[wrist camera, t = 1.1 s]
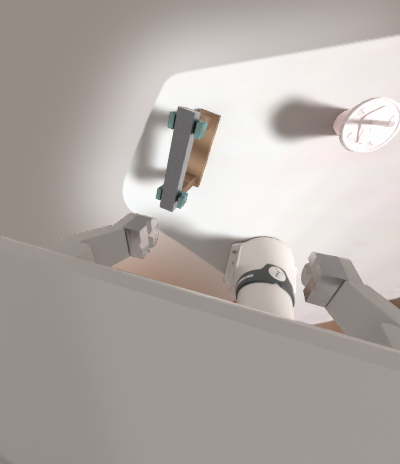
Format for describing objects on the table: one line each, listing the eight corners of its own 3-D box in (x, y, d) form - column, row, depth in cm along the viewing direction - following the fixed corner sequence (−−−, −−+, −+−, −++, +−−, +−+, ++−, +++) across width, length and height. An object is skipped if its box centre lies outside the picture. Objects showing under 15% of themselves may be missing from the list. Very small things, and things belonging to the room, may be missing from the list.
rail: (177, 206, 37) (172, 212, 35) (165, 201, 37) (159, 206, 35) (200, 112, 27) (195, 113, 25) (184, 106, 27) (178, 106, 25)
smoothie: (380, 106, 30) (447, 105, 19) (351, 148, 34) (393, 167, 23) (339, 94, 31) (381, 86, 20) (316, 136, 35) (339, 150, 23)
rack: (201, 186, 46) (179, 211, 35) (182, 178, 46) (155, 200, 35) (222, 116, 37) (203, 120, 26) (199, 108, 37) (170, 107, 26)
